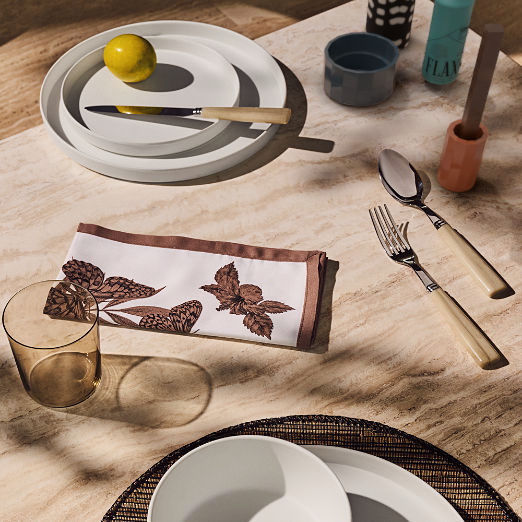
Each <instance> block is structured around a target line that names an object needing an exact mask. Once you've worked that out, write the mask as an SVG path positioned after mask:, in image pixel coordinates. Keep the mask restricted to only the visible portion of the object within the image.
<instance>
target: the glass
mask: <svg viewBox="0 0 522 522" xmlns="http://www.w3.org/2000/svg"><path fill="white" fill-rule="evenodd" d="M416 1H417V0H368V2H367V9H366V17H365V18H366V20H365V21H366V22H365V27H364V28H365V29H364V32H367V33H373V34H378V35H381V36H383V37H385V38H387V39H390V40H391V41H392V42H393V43H394V44H395V45H396V46H397V47H398V50H399V51H400V50H402V49H405V48H406V47H408V45H409V43H410V39H411V32H412V27H413V19H414V15H415V14H414V13H415V8H416Z"/></svg>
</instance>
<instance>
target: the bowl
mask: <svg viewBox="0 0 522 522" xmlns="http://www.w3.org/2000/svg"><path fill="white" fill-rule="evenodd" d="M400 55H401V54H400V50H398V47H397V46H396V45H395V44H394V43H393V42H392V41H391V40H390V39H387V38H385V37H383V36H381V35H378V34H373V33H367V32H365V31H354V32H353V31H352V32H347V33H344V34H339V35H336V36H335V37H334V38H331V40H329V41H328V42H327V43H326V45H325V47H324V50H323V65H322V66H323V68H322V87H323V91H324V92H325V93H326V94H327V96H328V97H329V98H331V99H332V100H334V101H336V102H339V103H340V104H344V105H348V106H353V107H370V106H373V105H377V104H381V103H383V102H385V101H386V100H387V99H388V98H390V97H391V96H392V95H393V93H394V91H395V88H396V83H397V78H398V77H397V76H398V69H399V62H400Z"/></svg>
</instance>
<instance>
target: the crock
mask: <svg viewBox="0 0 522 522" xmlns="http://www.w3.org/2000/svg"><path fill="white" fill-rule="evenodd" d="M461 121H462V118H460V119H459V118H458V119H457V120H456V119H455V120H454V121H452V122H450V123H449V125H448V127H447V129H446V133H445V137H444V142H443V146H442V149H441V155H440V158H439V164H438V168H437V175H436V180H437V182H438V184H439V185H440V186H441V187H442V188H444V189H445V190H447V191H450V192H454V193H463V192H467V191H469V190H471V189H473V187H475V184H476V181H477V179H478V176H479V173H480V169H481V166H482V162H483V158H484V156H485V152H486V149H487V146H488V145H487V144H488V141H489V137H490V132H489V129H488V127H487V125H485V124H483V123H482V122H480V126H479V130H478V133H477V137H476V140H475V141H467V140H464V139H460V138H459V137H458V133H459V129H460V125H461Z"/></svg>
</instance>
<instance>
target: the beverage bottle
mask: <svg viewBox="0 0 522 522" xmlns="http://www.w3.org/2000/svg"><path fill="white" fill-rule="evenodd" d="M475 3H476V0H434V2H433V8H432V14H431V19H430V24H429V31H428V36H427V39H426V44H425V48H424V53H423V57H422V62H421V71H420V73H421V76H422V78H423V79H424V80H425V81H427V82H428V83H431V84H434V85H442V86H443V85H449V84H451V83H454V82H455V81H456V80H457V78H458V77H459V75H460V69H461V67H462V63H463V61H462V60H463V56H464V54H465V49H466V43H467V41H468V39H467V37H468V34H469V29H470V27H471V21H472V18H473V17H472V15H473V10H474V5H475Z"/></svg>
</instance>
